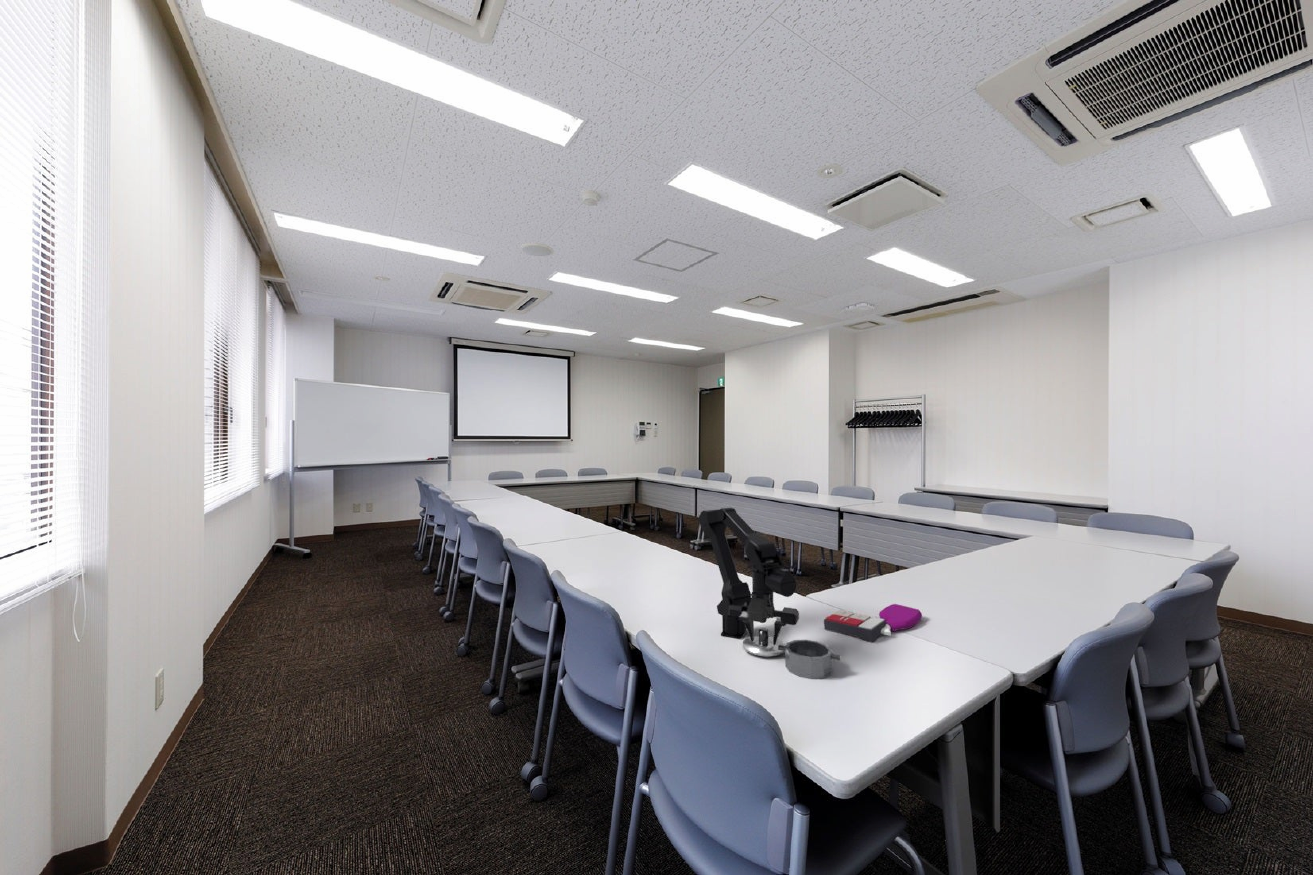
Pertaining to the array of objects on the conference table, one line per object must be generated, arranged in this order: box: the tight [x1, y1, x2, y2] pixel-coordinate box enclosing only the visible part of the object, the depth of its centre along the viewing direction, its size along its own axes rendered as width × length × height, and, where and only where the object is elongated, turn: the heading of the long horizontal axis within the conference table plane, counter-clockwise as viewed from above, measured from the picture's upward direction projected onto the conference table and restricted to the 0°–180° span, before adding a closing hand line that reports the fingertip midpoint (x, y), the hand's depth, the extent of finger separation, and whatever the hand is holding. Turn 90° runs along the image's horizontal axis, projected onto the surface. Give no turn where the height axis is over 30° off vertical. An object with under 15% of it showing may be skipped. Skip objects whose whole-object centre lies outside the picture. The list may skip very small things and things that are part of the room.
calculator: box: [823, 609, 886, 643], centre depth 148 cm, size 11×4×15 cm
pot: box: [778, 639, 841, 680], centre depth 124 cm, size 15×11×5 cm
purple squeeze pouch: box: [878, 603, 923, 637], centre depth 152 cm, size 3×11×25 cm
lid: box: [742, 627, 786, 658], centre depth 135 cm, size 12×12×6 cm
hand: (763, 642), depth 135 cm, fingers open, 6 cm apart
